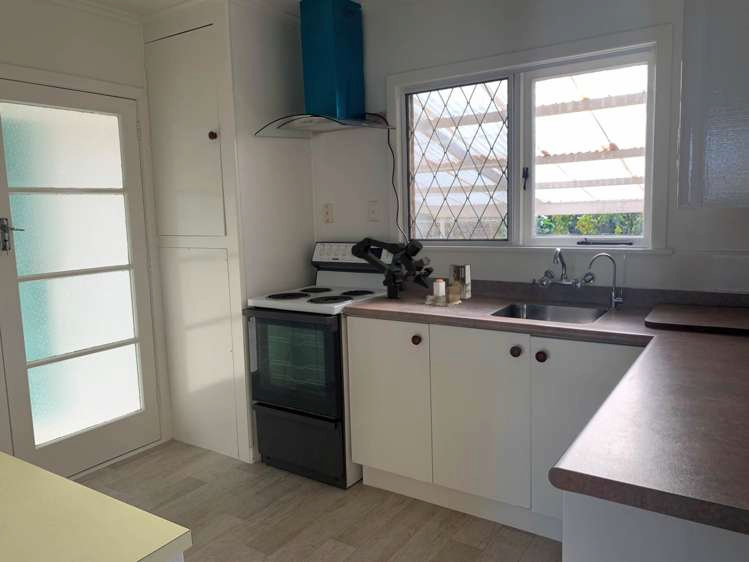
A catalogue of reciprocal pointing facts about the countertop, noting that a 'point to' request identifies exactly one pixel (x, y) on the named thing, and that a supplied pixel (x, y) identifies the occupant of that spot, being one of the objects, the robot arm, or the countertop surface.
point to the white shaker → (439, 288)
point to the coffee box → (461, 278)
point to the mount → (450, 298)
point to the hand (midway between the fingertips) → (428, 287)
